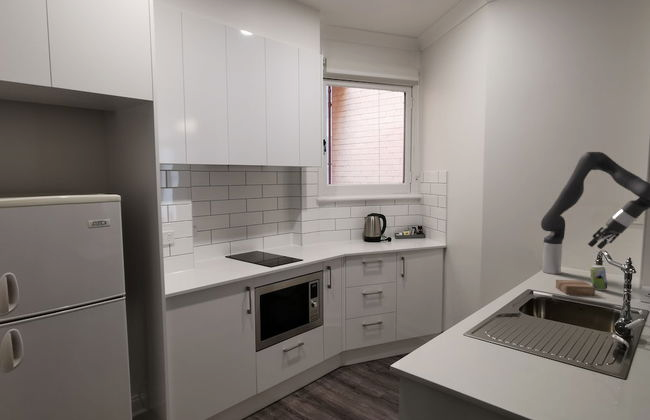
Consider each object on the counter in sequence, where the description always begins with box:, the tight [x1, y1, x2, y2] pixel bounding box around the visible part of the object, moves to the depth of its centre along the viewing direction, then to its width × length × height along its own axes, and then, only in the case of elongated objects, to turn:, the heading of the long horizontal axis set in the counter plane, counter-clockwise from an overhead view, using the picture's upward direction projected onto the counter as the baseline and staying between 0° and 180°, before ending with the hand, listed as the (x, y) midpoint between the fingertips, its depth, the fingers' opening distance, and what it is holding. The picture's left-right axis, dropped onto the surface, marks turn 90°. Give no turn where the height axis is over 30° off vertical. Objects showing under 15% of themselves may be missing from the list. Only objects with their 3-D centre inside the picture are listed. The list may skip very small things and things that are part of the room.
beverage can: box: [589, 264, 608, 291], centre depth 187 cm, size 6×7×12 cm
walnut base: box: [555, 279, 596, 297], centre depth 184 cm, size 12×12×4 cm
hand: (594, 246), depth 185 cm, fingers open, 8 cm apart
